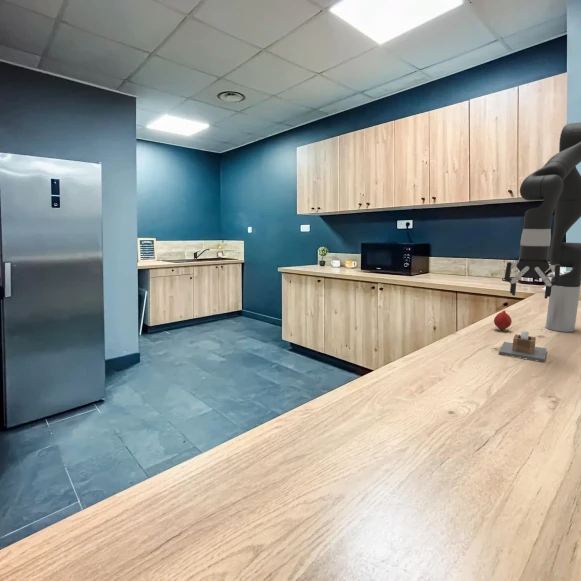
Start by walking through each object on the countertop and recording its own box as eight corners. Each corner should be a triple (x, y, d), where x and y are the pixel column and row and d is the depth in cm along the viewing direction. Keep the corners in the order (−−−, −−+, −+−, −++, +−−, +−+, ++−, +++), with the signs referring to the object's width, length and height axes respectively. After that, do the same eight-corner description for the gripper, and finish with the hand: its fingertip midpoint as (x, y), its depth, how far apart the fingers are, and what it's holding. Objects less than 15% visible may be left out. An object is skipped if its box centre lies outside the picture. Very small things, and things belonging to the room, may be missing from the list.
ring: (514, 345, 124) (515, 334, 123) (534, 349, 121) (535, 337, 120) (512, 350, 120) (513, 338, 119) (533, 354, 116) (534, 341, 116)
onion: (489, 329, 147) (491, 309, 146) (500, 327, 149) (501, 307, 148) (503, 333, 142) (505, 312, 140) (513, 331, 144) (516, 310, 143)
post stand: (503, 344, 129) (505, 324, 127) (546, 351, 122) (548, 330, 121) (498, 354, 119) (500, 332, 118) (544, 362, 112) (547, 339, 111)
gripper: (564, 244, 114) (557, 297, 117) (509, 242, 122) (504, 292, 125) (563, 245, 108) (556, 301, 111) (506, 244, 116) (501, 296, 119)
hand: (529, 296), depth 118 cm, fingers open, 8 cm apart
